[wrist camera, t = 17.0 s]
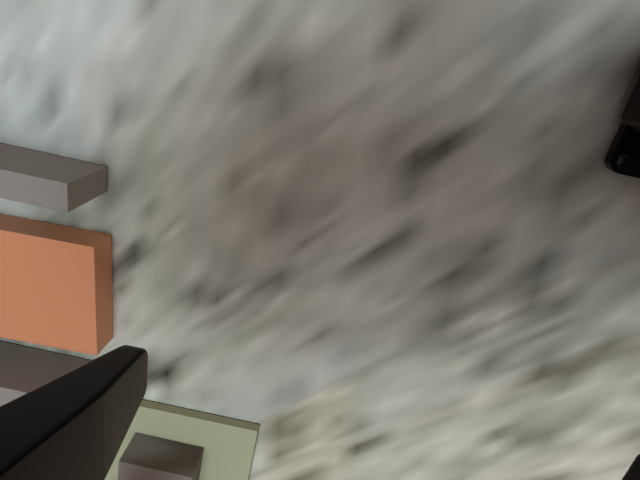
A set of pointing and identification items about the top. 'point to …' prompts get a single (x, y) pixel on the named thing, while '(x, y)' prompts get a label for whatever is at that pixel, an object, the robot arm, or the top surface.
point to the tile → (55, 285)
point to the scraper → (159, 459)
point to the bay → (56, 193)
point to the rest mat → (197, 438)
